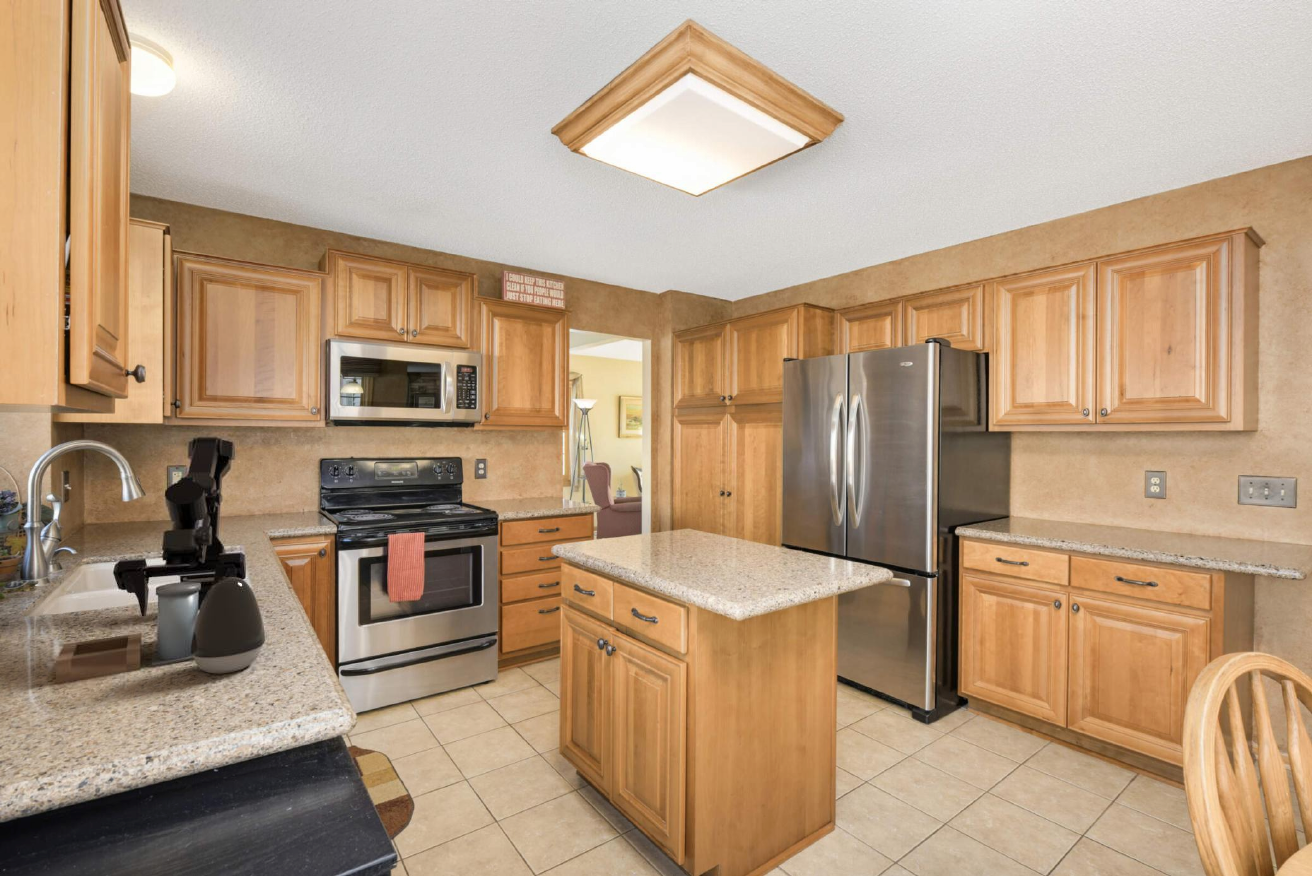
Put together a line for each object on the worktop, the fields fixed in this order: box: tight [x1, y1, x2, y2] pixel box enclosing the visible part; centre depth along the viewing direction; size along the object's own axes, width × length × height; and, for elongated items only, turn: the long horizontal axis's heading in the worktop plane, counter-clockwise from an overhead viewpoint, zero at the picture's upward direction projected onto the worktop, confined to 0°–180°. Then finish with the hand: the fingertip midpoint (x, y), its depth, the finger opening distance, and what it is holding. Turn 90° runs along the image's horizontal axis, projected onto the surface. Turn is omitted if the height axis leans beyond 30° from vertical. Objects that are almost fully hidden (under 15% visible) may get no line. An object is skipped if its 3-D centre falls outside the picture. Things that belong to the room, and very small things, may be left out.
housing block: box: [55, 632, 142, 685], centre depth 103 cm, size 10×10×4 cm
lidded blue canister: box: [155, 581, 201, 660], centre depth 108 cm, size 6×6×12 cm
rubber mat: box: [151, 651, 195, 668], centre depth 108 cm, size 7×7×1 cm
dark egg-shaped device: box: [191, 577, 266, 675], centre depth 103 cm, size 10×10×15 cm
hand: (176, 611), depth 107 cm, fingers open, 9 cm apart
